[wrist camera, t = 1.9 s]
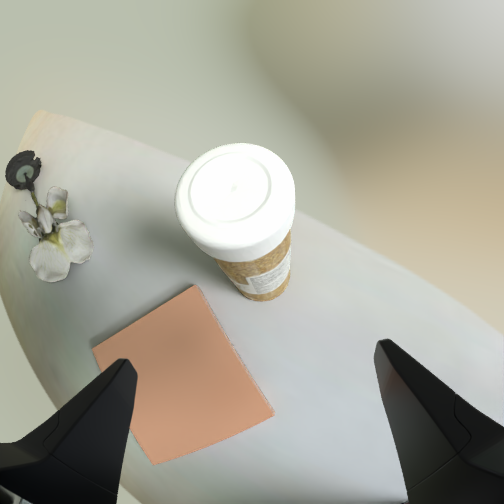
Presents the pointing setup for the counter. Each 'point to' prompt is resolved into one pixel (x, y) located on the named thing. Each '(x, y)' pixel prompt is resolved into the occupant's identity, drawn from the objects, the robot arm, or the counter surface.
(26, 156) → the artificial flower
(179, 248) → the counter surface
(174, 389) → the terracotta tile
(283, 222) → the sprinkles bottle
